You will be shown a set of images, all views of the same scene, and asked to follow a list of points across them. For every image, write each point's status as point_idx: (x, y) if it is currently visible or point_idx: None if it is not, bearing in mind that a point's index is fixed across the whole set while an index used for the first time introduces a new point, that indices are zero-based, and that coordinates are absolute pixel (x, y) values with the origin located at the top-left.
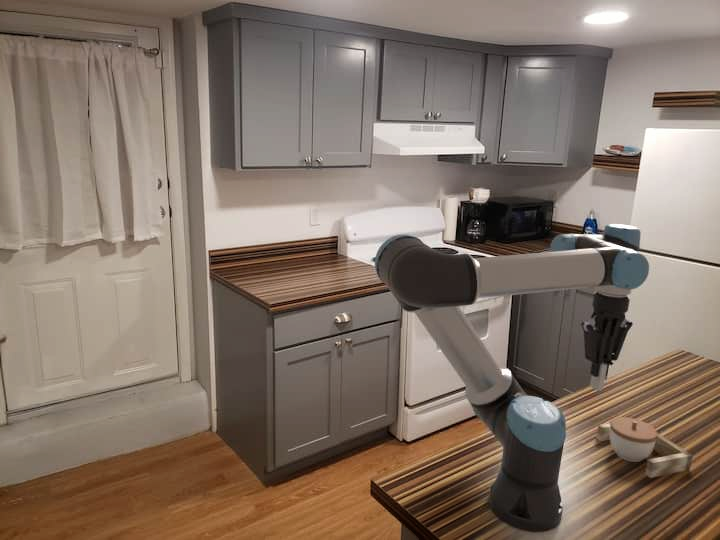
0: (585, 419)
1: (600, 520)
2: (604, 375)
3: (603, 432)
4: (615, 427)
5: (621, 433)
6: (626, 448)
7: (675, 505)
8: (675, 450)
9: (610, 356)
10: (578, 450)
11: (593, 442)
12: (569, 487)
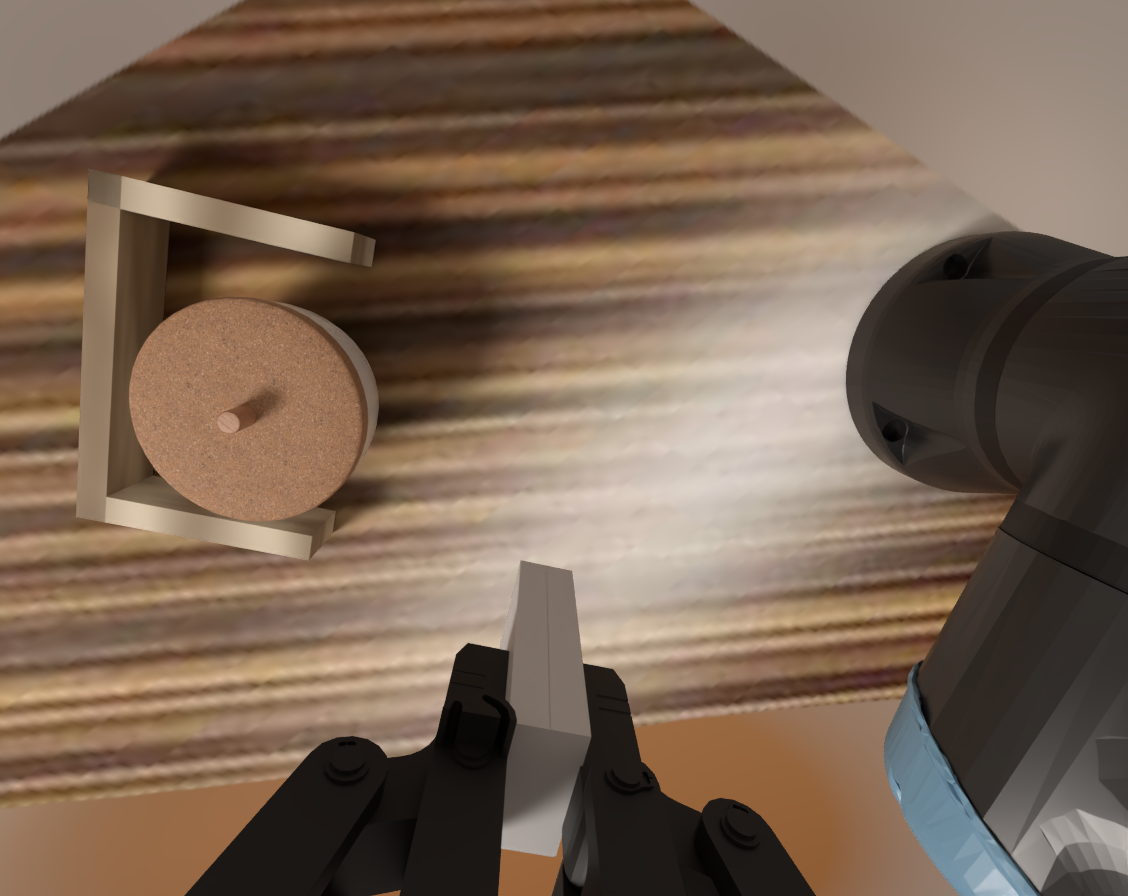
0: (246, 647)
1: (804, 174)
2: (527, 639)
3: (311, 524)
4: (343, 461)
5: (361, 412)
6: (369, 368)
7: (454, 65)
8: (126, 252)
9: (453, 819)
10: (479, 509)
11: (369, 519)
12: (726, 364)
